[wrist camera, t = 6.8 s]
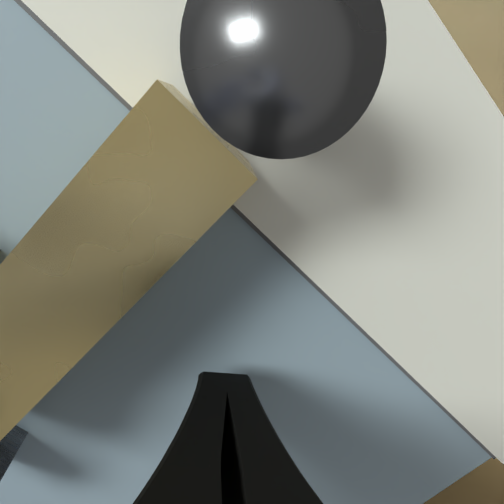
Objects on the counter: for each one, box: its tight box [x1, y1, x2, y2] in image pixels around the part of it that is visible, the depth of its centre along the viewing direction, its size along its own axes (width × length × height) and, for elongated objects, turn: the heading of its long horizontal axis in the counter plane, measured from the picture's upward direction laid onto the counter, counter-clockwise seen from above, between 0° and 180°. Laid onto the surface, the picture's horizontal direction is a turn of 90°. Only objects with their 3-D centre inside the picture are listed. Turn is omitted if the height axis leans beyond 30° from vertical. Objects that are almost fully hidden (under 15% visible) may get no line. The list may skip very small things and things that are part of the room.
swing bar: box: [0, 79, 258, 441], centre depth 8 cm, size 10×2×3 cm, turn 135°
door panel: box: [0, 0, 504, 504], centre depth 11 cm, size 19×22×1 cm
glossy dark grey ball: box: [180, 0, 387, 159], centre depth 7 cm, size 3×3×4 cm
